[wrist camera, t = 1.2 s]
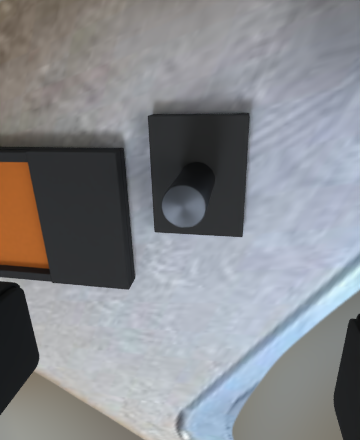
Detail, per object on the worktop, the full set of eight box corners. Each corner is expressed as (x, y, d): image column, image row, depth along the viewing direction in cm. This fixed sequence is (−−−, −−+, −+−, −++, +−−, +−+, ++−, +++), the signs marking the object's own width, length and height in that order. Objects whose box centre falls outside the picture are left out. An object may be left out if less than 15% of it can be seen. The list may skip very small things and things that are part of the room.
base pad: (-51, 146, 28) (-69, 149, 26) (123, 147, 25) (115, 152, 24) (-16, 265, 33) (-30, 275, 31) (135, 278, 30) (128, 289, 28)
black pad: (152, 114, 24) (117, 124, 17) (249, 113, 23) (251, 124, 16) (158, 225, 27) (130, 271, 20) (242, 229, 26) (242, 280, 19)
